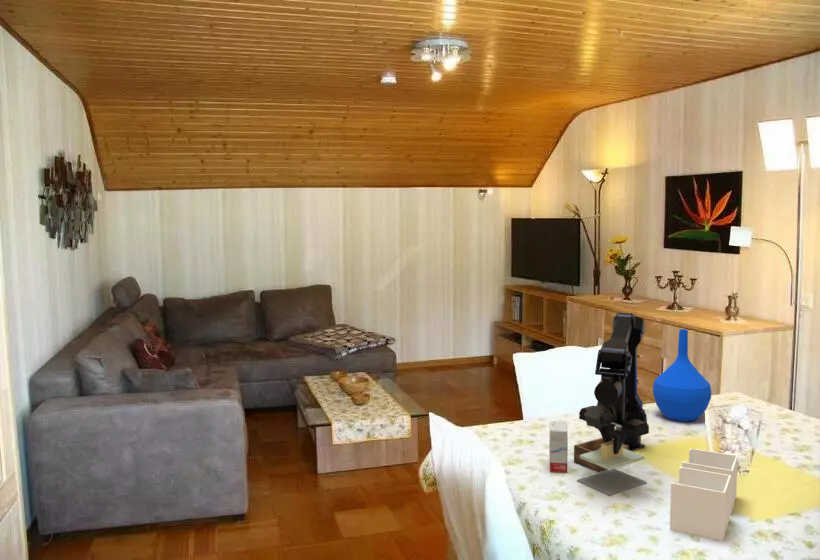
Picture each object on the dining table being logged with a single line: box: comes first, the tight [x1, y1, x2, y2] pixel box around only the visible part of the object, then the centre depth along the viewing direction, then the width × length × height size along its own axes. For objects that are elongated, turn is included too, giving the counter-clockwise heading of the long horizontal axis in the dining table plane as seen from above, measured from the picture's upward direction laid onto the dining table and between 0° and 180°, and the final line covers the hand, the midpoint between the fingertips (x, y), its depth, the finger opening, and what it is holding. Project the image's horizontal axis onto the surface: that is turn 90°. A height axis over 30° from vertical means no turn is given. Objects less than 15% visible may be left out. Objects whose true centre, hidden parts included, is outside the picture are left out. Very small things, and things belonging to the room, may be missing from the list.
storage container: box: [669, 448, 739, 541], centre depth 163 cm, size 25×11×11 cm, turn 149°
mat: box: [576, 468, 648, 497], centre depth 182 cm, size 14×11×1 cm
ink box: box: [548, 421, 569, 474], centre depth 193 cm, size 9×5×12 cm, turn 168°
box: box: [573, 437, 630, 473], centre depth 196 cm, size 12×9×5 cm
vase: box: [652, 328, 712, 422], centre depth 234 cm, size 18×18×30 cm
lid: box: [580, 441, 645, 470], centre depth 182 cm, size 13×10×5 cm
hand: (612, 452), depth 182 cm, fingers closed on lid
